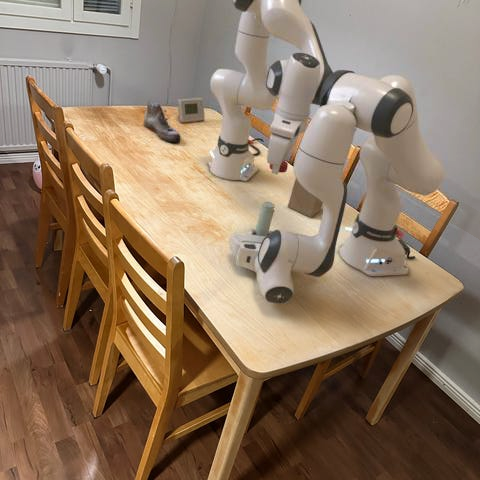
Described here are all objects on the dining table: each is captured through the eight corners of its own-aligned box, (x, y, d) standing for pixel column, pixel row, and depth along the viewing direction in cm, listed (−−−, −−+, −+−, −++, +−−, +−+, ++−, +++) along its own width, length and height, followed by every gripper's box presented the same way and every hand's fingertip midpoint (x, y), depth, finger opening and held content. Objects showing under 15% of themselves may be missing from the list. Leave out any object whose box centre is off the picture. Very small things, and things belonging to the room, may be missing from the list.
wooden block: (310, 217, 160) (327, 167, 149) (286, 207, 163) (301, 157, 153) (321, 209, 167) (337, 160, 157) (298, 198, 171) (312, 150, 160)
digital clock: (179, 123, 216) (182, 102, 211) (171, 117, 222) (173, 96, 216) (207, 123, 225) (211, 102, 220) (199, 116, 231) (202, 96, 225)
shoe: (184, 144, 195) (187, 117, 189) (160, 144, 190) (163, 116, 183) (163, 123, 212) (165, 98, 206) (141, 123, 207) (143, 97, 200)
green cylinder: (249, 249, 135) (260, 204, 126) (253, 243, 138) (264, 199, 130) (261, 254, 134) (273, 209, 126) (265, 247, 137) (277, 203, 129)
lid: (289, 170, 123) (291, 163, 122) (280, 174, 119) (282, 167, 118) (275, 163, 125) (276, 157, 124) (265, 167, 121) (267, 160, 120)
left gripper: (287, 109, 124) (276, 154, 131) (268, 127, 107) (256, 178, 114) (309, 115, 123) (296, 160, 130) (293, 134, 106) (279, 186, 113)
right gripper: (306, 253, 123) (295, 226, 134) (235, 246, 119) (230, 219, 130) (300, 270, 126) (290, 243, 138) (230, 264, 122) (226, 237, 133)
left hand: (277, 169), depth 122 cm, fingers closed on lid, 5 cm apart
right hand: (260, 231), depth 134 cm, fingers closed on green cylinder, 4 cm apart
